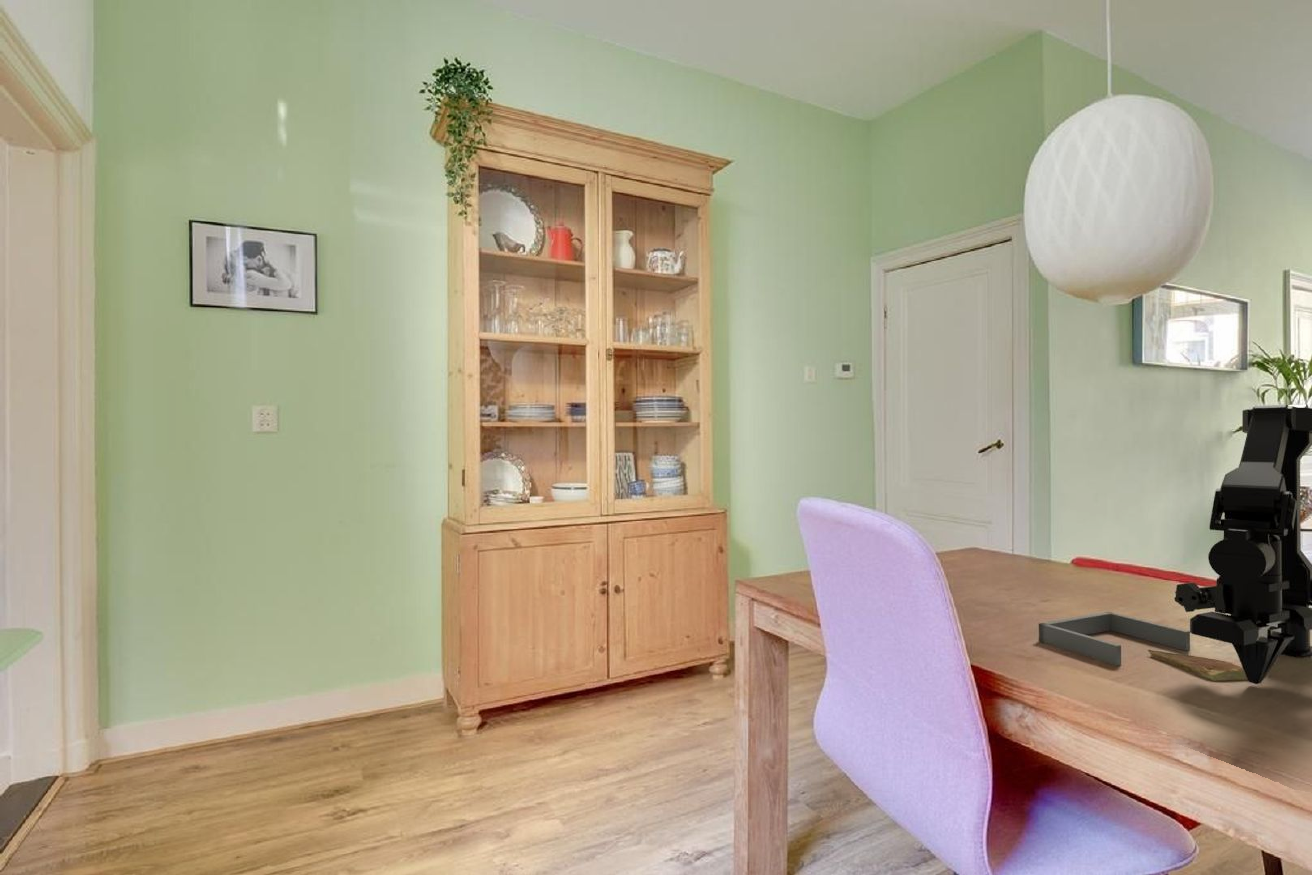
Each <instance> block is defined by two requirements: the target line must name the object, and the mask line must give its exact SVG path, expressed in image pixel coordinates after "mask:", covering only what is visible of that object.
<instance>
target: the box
mask: <svg viewBox="0 0 1312 875" xmlns="http://www.w3.org/2000/svg"><path fill="white" fill-rule="evenodd" d="M1109 631H1112V632H1116V633H1120V634H1123V635H1128V636H1130V637H1134V638H1139V639H1142V640H1146V641H1149V642H1154V643H1157V644H1161V645H1164V646H1167V647H1171V648H1175V649H1180V650H1183V651H1190V650H1191V633H1190V630H1186V629H1181V628H1178V627H1174V626H1169V625H1164V624H1161V623H1157V622H1152V621H1148V620H1145V619H1140V618H1136V617H1132V616H1129V615H1124V614H1119V613H1115V612H1111V611H1106V612H1105V611H1104V612H1100V613H1099V612H1098V613H1093V614H1087V615H1081V616H1074V617H1068V618H1064V619H1059V620H1058V619H1056V620H1052V621H1051V620H1050V621H1046V622H1041V623H1040V622H1039V623H1038V641H1039V642H1041V643H1044V644H1047V645H1050V646H1053V647H1057V648H1061V649H1063V650H1067V651H1070V652H1072V653H1075V654H1079V655H1081V656H1085V657H1088V658H1092V659H1094V660H1098V661H1101V662H1105V663H1107V664H1110V665H1114V666H1121V665H1122V645H1121V644H1118V643H1115V642H1113V641H1109V640H1104V639H1100V638H1097V637H1093V636H1090V635H1093V634H1098V633H1104V632H1109Z"/></svg>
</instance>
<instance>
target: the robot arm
mask: <svg viewBox="0 0 1312 875" xmlns="http://www.w3.org/2000/svg"><path fill="white" fill-rule="evenodd" d="M1241 415H1242V424H1241V425H1242V426H1241V427H1242V428H1241V429H1242V430H1241V431H1242V433H1244V434H1246V436H1245V440H1244V444H1243V450H1242V454H1241V457H1240V461H1239V464H1238V467H1236V468H1234V469H1233V470H1232V469H1231V471H1229V472H1227V473H1225V475H1224V477H1223V480H1222V481H1221V486H1220V488H1216V489H1215V492H1214V497H1213V503H1212V509H1211V514H1210V522H1209V530H1210V531H1220V532H1223V539H1221V540H1219V541H1218V542H1216V543H1215V544H1213V546H1212V547H1211V548H1210V550H1209V552H1208V563H1209V565H1210V567H1211V569H1212V570H1213V571H1214V572H1215V574H1217V575H1218V577H1217V578H1216V585H1208V586H1202V587H1199V585H1198V584H1196V583H1195V582H1185V583H1179V584H1176V588H1175V591H1174V593H1175V597H1174V602H1176V603H1178V605H1180V606H1181V607H1183V608H1184V610H1185V612H1186V613H1190V612H1195V611H1197V610H1198V611H1199V610H1206V609H1214V611H1207V612H1202V613H1197V614H1196V615H1194V616H1192V617H1191V618H1190V619H1189V631H1190V634H1192V635H1195V636H1199V637H1204V638H1207V639H1210V640H1211V639H1212V640H1216V641H1219V642H1220V641H1221V642H1224V643H1228V644H1231V645H1232V646H1233V648H1234V650H1235V653H1236V654H1237V656H1238V659H1239V662H1240V664H1241V667H1243V669H1244V672H1245V674H1246V677H1247V679H1246V680H1247V681H1248V682H1249V683H1251V684H1255V685H1259V684H1262V682H1263V680H1264V679H1265V678H1266V676H1267V675H1268V673H1269V672H1270V670H1271V669H1272V667H1273V666H1274V665H1275V662H1276V661H1277V660H1278V658H1279V657H1280V655H1282V654H1287V655H1290V656H1296V657H1306V656H1309V655H1312V645H1311V631H1312V562H1311V561H1310V560H1309V559H1308V558H1307V556H1306V555H1305V554H1304V553H1303V551H1302V550H1301V549H1302V548H1301V547H1302V546H1301V545H1302V544H1301V541H1302V540H1301V537H1302V536H1301V534H1302V533H1301V531H1302V529H1301V527H1302V526H1301V525H1302V524H1301V459H1302V458H1303V457H1304V456H1305V454H1306V453H1307V452H1308V451H1309V449H1310V448H1311V447H1312V408H1311V407H1309V405H1308V404H1307V403H1304V404H1303V403H1302V404H1301V403H1299V404H1296V403H1295V404H1285V403H1284V404H1281V403H1279V404H1259V405H1258V404H1257V405H1255V406H1251V407H1250V406H1249V407H1248V409H1243V410H1242V414H1241ZM1223 514H1224V516H1223ZM1222 517H1224V519H1223V518H1222Z"/></svg>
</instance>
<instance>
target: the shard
mask: <svg viewBox="0 0 1312 875" xmlns="http://www.w3.org/2000/svg"><path fill="white" fill-rule="evenodd" d="M1147 651H1148V653H1149V654H1150V657H1151V658H1154V659H1157V660H1159V661H1162V662H1165V663H1168V664H1171V665H1173V666H1176V667H1179V668H1181V669H1184V670H1186V671H1189V672H1191V673H1194V674H1196V675H1198V676H1199V677H1200V676H1201V677H1202V678H1205V679H1207V680H1210V681H1213V682H1217V681H1228V680H1248V679H1247V677H1246V674H1245V672H1244V669H1243V667H1242V665H1238V664H1235V663H1232V662H1230V661H1225V660H1220V659H1213V658H1207V657H1203V656H1196V655H1189V654H1181V653H1174V652H1167V651H1166V652H1165V651H1161V650H1160V651H1159V650H1158V651H1157V650H1151V649H1147Z"/></svg>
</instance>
